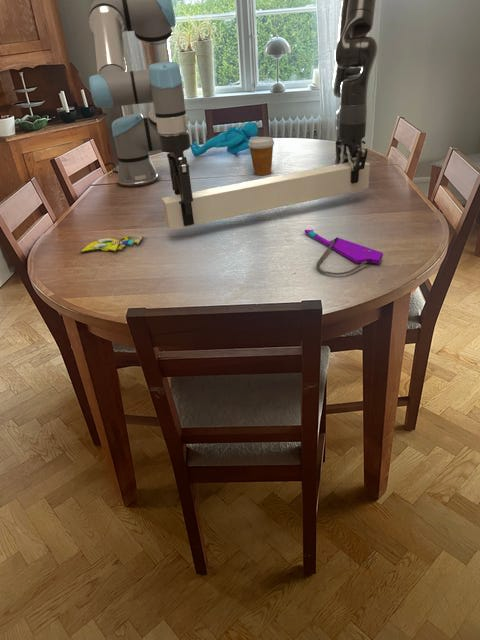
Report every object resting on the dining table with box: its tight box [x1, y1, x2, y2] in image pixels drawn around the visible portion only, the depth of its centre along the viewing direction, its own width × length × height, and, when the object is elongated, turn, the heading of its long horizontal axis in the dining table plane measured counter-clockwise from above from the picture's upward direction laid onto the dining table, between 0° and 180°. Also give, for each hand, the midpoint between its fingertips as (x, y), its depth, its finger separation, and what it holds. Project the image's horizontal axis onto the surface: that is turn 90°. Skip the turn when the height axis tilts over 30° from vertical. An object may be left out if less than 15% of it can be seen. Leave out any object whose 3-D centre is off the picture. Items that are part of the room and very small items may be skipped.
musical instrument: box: [304, 229, 384, 276], centre depth 117 cm, size 24×2×20 cm
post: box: [161, 161, 371, 231], centre depth 136 cm, size 61×5×8 cm, turn 110°
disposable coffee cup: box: [248, 136, 275, 176], centre depth 177 cm, size 10×10×12 cm
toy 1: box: [80, 235, 144, 254], centre depth 133 cm, size 10×1×15 cm
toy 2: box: [190, 121, 259, 157], centre depth 206 cm, size 17×11×30 cm
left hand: (186, 221), depth 132 cm, fingers closed on post, 5 cm apart
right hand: (349, 179), depth 143 cm, fingers closed on post, 5 cm apart
